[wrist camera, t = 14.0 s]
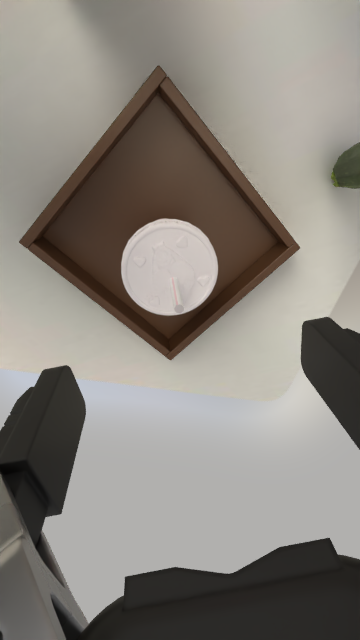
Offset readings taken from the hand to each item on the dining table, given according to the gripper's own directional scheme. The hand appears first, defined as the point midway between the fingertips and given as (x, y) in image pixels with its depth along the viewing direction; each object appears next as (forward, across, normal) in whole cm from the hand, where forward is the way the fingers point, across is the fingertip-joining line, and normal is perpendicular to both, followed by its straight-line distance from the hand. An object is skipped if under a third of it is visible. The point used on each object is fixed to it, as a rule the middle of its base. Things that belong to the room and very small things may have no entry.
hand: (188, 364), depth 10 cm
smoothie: (+20, 0, 0) cm, 20 cm away
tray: (+21, 0, 0) cm, 21 cm away
